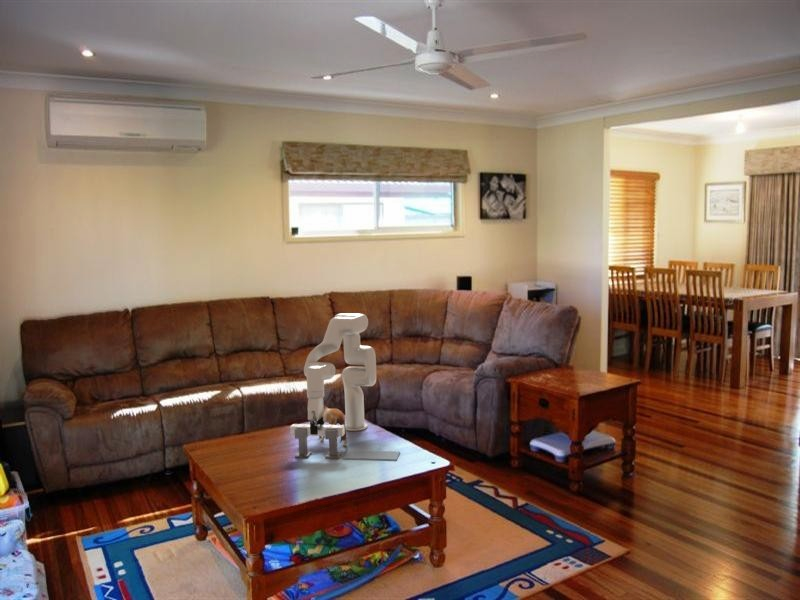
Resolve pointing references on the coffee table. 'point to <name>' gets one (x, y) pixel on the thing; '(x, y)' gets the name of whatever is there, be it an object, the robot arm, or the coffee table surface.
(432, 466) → the coffee table surface
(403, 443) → the coffee table surface
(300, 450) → the post
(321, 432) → the rail
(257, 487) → the coffee table surface
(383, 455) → the mat
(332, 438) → the post
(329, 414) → the horse figurine
